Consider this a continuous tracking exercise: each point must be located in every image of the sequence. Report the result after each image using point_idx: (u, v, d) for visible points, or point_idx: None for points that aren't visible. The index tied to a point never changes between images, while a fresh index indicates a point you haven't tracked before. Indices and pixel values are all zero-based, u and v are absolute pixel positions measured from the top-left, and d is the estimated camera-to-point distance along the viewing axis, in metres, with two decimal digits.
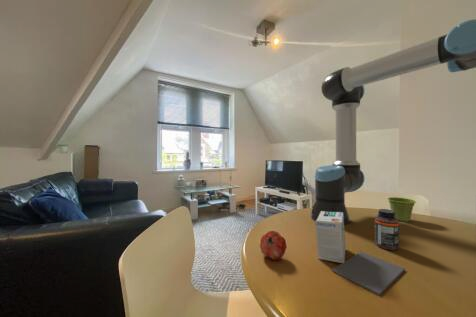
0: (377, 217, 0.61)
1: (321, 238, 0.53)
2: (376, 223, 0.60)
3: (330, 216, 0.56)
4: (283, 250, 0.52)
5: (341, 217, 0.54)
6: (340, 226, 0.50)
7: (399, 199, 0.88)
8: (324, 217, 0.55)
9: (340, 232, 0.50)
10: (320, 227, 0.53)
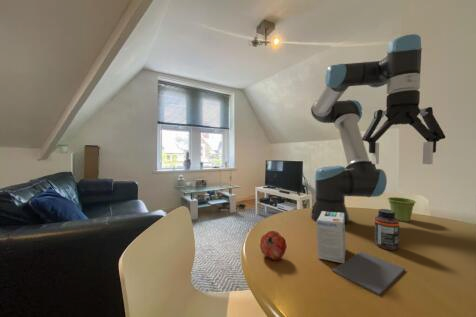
0: (377, 217, 0.60)
1: (322, 238, 0.53)
2: (376, 223, 0.60)
3: (331, 216, 0.56)
4: (283, 250, 0.52)
5: (342, 217, 0.54)
6: (341, 226, 0.50)
7: (399, 199, 0.88)
8: (325, 217, 0.55)
9: (341, 232, 0.50)
10: (321, 227, 0.53)
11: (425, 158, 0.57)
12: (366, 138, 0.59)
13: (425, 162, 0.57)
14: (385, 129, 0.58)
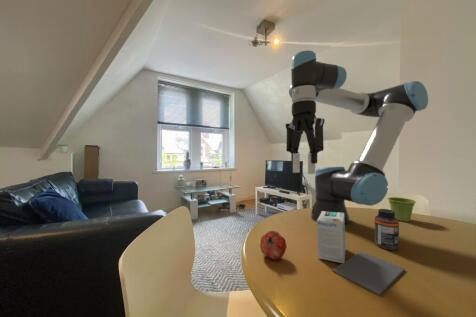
0: (377, 217, 0.61)
1: (322, 238, 0.53)
2: (376, 223, 0.60)
3: (331, 216, 0.56)
4: (283, 250, 0.52)
5: (342, 217, 0.54)
6: (341, 226, 0.50)
7: (399, 199, 0.88)
8: (325, 217, 0.55)
9: (341, 232, 0.50)
10: (321, 227, 0.53)
11: None
12: (287, 150, 0.68)
13: None
14: (294, 139, 0.65)
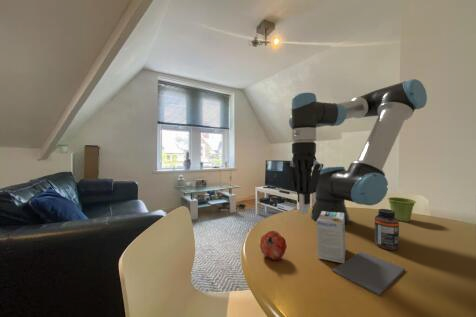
0: (377, 217, 0.61)
1: (322, 238, 0.53)
2: (376, 223, 0.60)
3: (331, 216, 0.56)
4: (283, 250, 0.52)
5: (342, 217, 0.54)
6: (341, 226, 0.50)
7: (399, 199, 0.88)
8: (325, 217, 0.55)
9: (341, 232, 0.50)
10: (321, 227, 0.53)
11: None
12: (293, 189, 0.66)
13: None
14: (298, 178, 0.64)
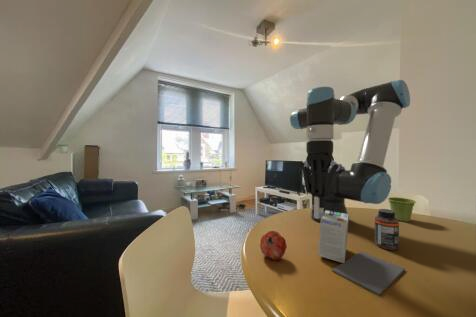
0: (377, 217, 0.61)
1: (324, 236, 0.53)
2: (376, 223, 0.60)
3: (335, 215, 0.56)
4: (283, 250, 0.52)
5: (347, 218, 0.54)
6: (345, 226, 0.50)
7: (399, 199, 0.88)
8: (329, 216, 0.55)
9: (345, 232, 0.50)
10: (325, 225, 0.53)
11: None
12: (307, 191, 0.61)
13: None
14: (313, 179, 0.59)
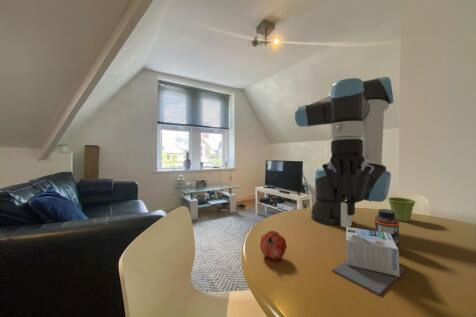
0: (377, 217, 0.60)
1: (373, 250, 0.47)
2: (376, 223, 0.60)
3: None
4: (283, 250, 0.52)
5: None
6: (394, 274, 0.45)
7: (399, 199, 0.88)
8: None
9: (385, 272, 0.45)
10: (389, 252, 0.45)
11: None
12: (331, 196, 0.55)
13: None
14: (339, 183, 0.53)
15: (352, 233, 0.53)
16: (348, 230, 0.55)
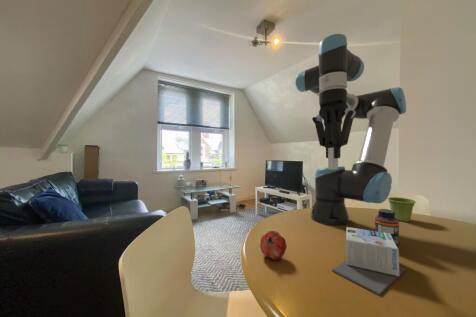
0: (377, 217, 0.61)
1: (373, 250, 0.47)
2: (376, 223, 0.60)
3: None
4: (283, 250, 0.52)
5: None
6: (394, 274, 0.45)
7: (399, 199, 0.88)
8: None
9: (385, 272, 0.45)
10: (389, 252, 0.45)
11: None
12: (320, 144, 0.61)
13: None
14: (327, 131, 0.59)
15: (352, 233, 0.53)
16: (348, 230, 0.55)
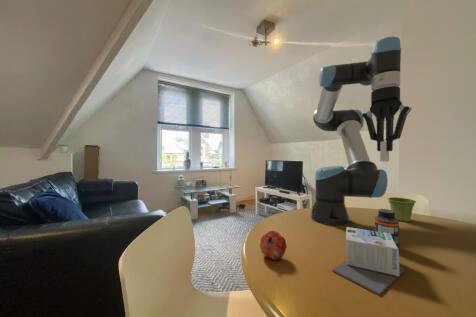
0: (377, 217, 0.61)
1: (373, 250, 0.47)
2: (376, 223, 0.60)
3: None
4: (283, 250, 0.52)
5: None
6: (394, 274, 0.45)
7: (399, 199, 0.88)
8: None
9: (385, 272, 0.45)
10: (389, 252, 0.45)
11: None
12: (371, 138, 0.65)
13: None
14: (379, 126, 0.64)
15: (352, 233, 0.53)
16: (348, 230, 0.55)
